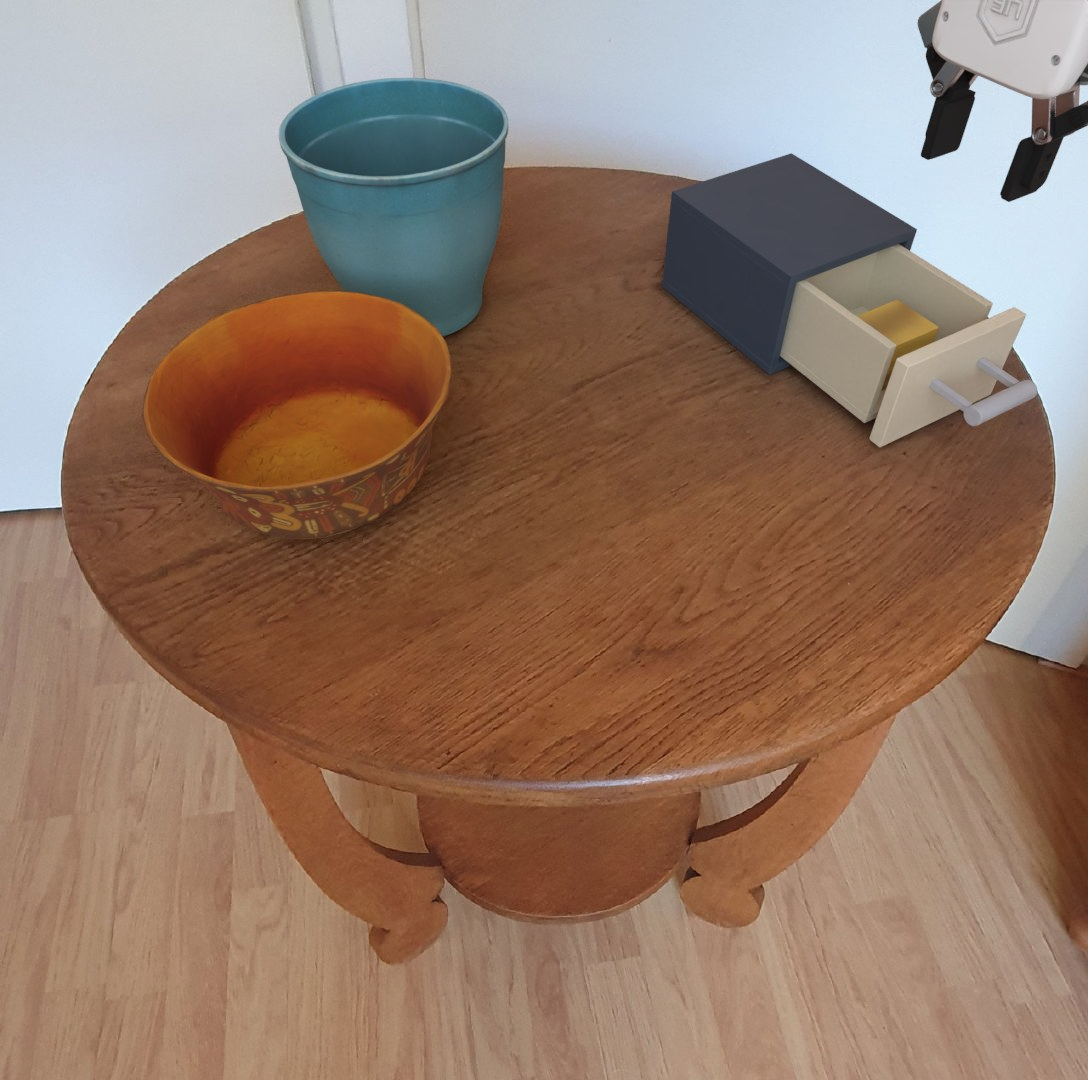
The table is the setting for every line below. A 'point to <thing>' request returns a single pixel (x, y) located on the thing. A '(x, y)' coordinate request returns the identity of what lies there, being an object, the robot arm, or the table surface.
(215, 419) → the bowl
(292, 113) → the flower pot
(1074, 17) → the robot arm
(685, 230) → the cabinet
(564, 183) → the table surface
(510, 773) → the table surface
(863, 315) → the block
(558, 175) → the table surface
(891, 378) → the drawer
